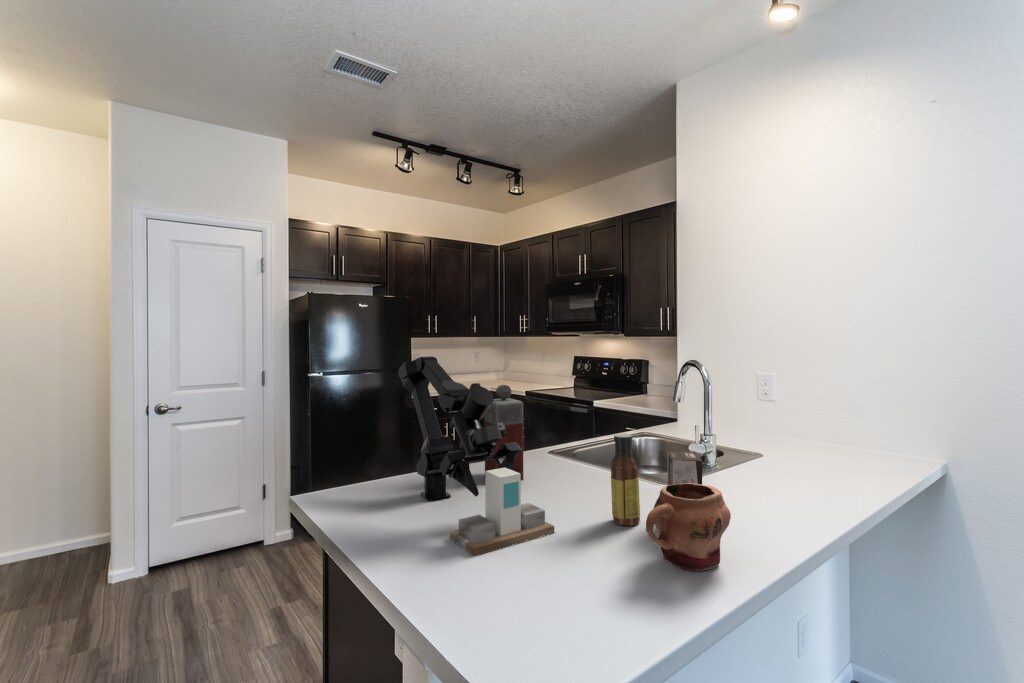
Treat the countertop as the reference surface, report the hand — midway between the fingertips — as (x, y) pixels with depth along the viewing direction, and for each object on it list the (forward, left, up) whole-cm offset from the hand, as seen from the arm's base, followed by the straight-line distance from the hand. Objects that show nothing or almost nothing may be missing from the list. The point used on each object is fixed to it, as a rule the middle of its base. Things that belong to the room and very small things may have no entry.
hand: (495, 491), depth 108 cm
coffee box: (+19, +37, -9) cm, 43 cm away
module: (+3, 0, -7) cm, 8 cm away
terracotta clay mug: (+31, +24, -9) cm, 40 cm away
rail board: (+3, 0, -9) cm, 9 cm away
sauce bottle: (+10, +28, -9) cm, 31 cm away
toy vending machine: (-36, +21, -9) cm, 43 cm away
